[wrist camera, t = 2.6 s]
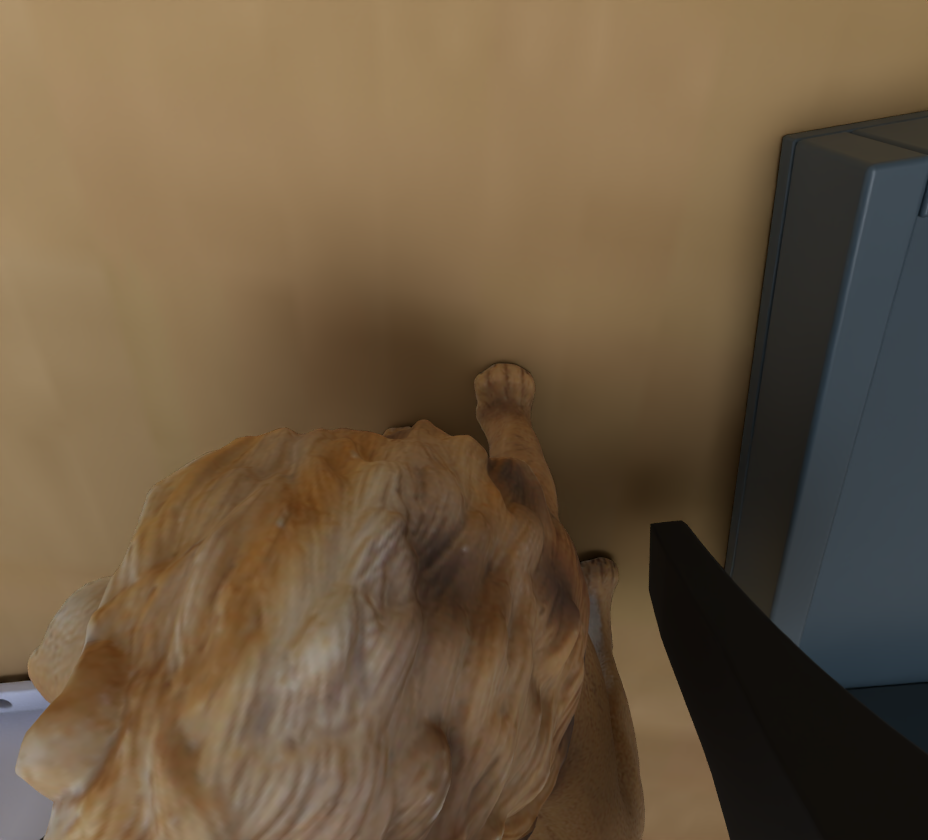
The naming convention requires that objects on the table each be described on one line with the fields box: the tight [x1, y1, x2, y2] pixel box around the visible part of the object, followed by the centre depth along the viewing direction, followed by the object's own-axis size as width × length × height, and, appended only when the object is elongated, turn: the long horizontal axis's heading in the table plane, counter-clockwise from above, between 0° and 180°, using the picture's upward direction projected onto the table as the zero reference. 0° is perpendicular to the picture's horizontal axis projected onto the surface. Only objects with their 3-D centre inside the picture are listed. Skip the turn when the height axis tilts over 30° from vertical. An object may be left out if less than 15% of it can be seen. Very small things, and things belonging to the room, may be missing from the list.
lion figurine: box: [15, 363, 645, 840], centre depth 10 cm, size 15×5×9 cm, turn 30°
